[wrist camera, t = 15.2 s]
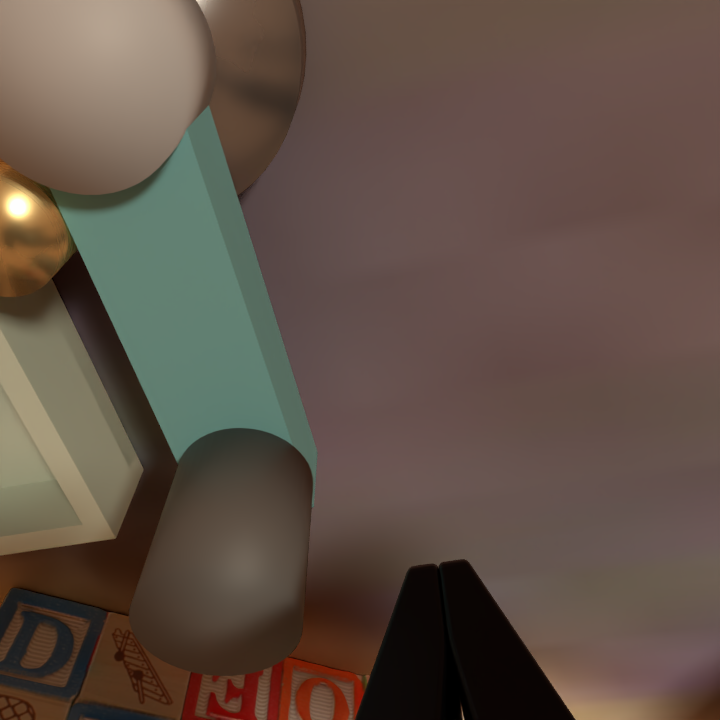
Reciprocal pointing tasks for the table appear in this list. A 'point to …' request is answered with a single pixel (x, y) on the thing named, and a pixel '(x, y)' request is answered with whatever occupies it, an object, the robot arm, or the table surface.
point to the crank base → (230, 114)
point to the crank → (174, 311)
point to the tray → (56, 433)
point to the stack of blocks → (142, 674)
